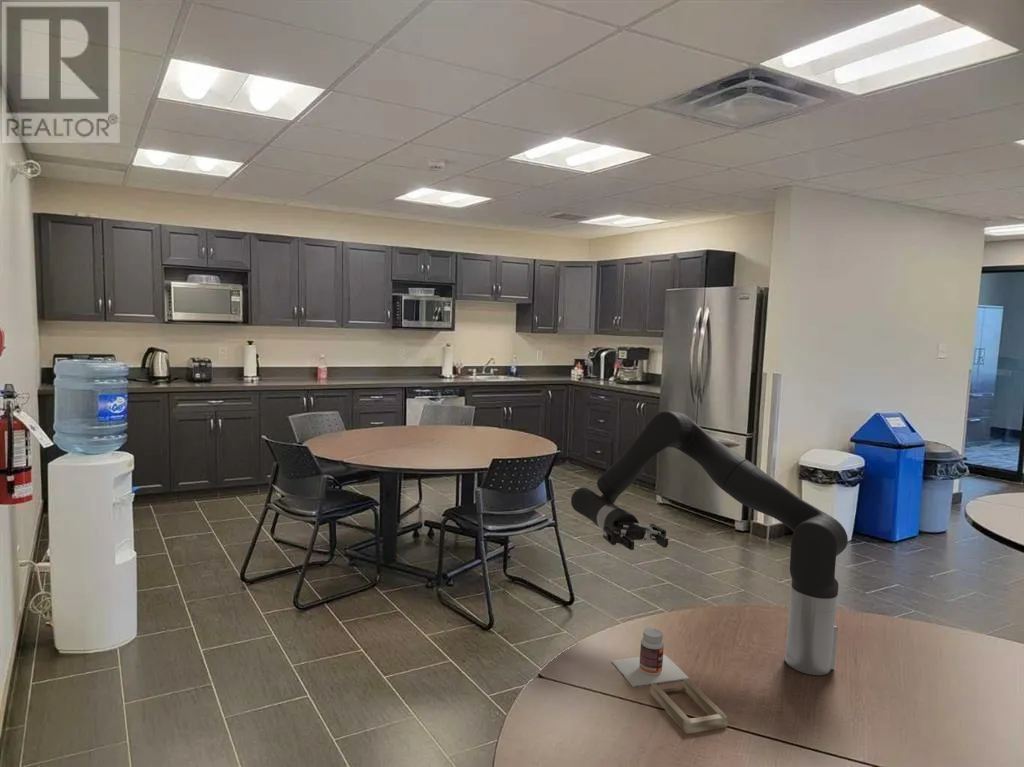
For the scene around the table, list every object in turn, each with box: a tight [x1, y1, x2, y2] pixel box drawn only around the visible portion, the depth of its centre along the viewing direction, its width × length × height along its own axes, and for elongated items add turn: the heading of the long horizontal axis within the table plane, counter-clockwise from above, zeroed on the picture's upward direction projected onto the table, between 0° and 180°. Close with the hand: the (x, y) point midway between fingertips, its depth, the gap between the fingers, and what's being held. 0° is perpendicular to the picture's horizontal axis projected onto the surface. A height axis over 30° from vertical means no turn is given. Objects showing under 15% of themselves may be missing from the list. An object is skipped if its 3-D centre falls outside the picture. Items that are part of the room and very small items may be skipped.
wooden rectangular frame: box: [649, 678, 729, 735], centre depth 125 cm, size 9×13×2 cm, turn 18°
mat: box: [611, 653, 690, 688], centre depth 139 cm, size 13×10×1 cm
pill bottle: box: [639, 627, 665, 675], centre depth 138 cm, size 5×5×8 cm
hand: (649, 544), depth 147 cm, fingers open, 8 cm apart
